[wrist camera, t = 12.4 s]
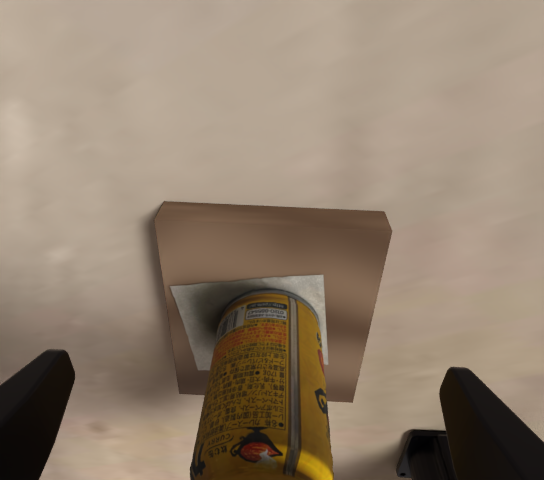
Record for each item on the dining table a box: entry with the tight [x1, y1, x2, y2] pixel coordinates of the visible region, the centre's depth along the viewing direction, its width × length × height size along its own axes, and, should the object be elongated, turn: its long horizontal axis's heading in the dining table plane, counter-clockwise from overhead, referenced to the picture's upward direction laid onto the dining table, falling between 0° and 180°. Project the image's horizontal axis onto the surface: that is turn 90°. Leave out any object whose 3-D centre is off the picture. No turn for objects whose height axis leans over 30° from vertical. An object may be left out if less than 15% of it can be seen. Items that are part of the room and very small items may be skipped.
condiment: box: [170, 275, 334, 480], centre depth 20 cm, size 7×8×12 cm
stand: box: [154, 201, 392, 403], centre depth 25 cm, size 14×12×2 cm
